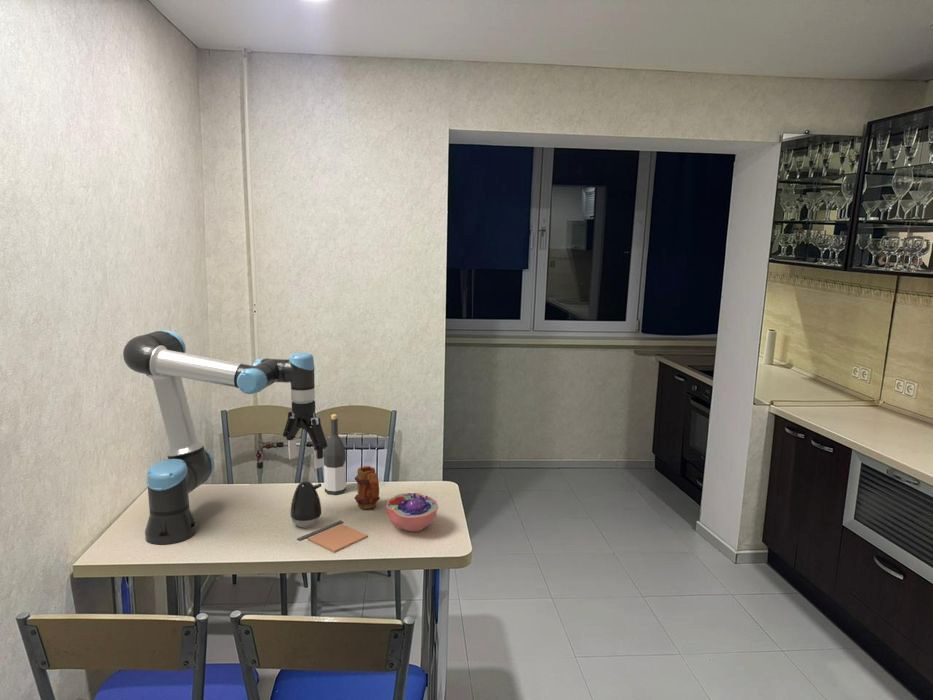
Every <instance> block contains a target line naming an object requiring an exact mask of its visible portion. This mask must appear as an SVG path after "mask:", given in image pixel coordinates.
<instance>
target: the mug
mask: <svg viewBox="0 0 933 700" xmlns="http://www.w3.org/2000/svg"><path fill="white" fill-rule="evenodd" d="M354 480H355V482H356V483H357V494H356V495H355V496H353V497H354V498H353V499H354V500H355V503H357V505H358V508H359V509H361V510H362V509H363V510H369V509H374V508H375V507H377V502H378V501H379V500H380V485H379V481H380V480H379V478H378V474H377V472H376V469H375V468H374V467H371V466H370V465H369V466H368V465H366V466H365V465H364V466H360V467H358V468H357V474H356V476H355V477H354Z"/></svg>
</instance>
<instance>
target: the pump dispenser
mask: <svg viewBox="0 0 933 700" xmlns="http://www.w3.org/2000/svg"><path fill="white" fill-rule="evenodd" d="M321 487H322V483H318V484H315V485H314V484H313V483H312V482H311V481H308V480H303V481H301V482H300V483H299V484H297V486H296V487H295V490H294V492H293V494H292V495H293V496H292V500H291V504H290V505H291V506H290V511H289V512H290V513H289V515H290V518H291V520H292V522H293V524H294V525H295V526H297V527H300V528H311V527H313V526H315V525H316V524H317V523H319V520H320V518H321V515H322V512H323V511H322V505H321V504H322V503H321V500H320V496H319V494H318V491H317V490H318V488H321Z"/></svg>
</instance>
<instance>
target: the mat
mask: <svg viewBox="0 0 933 700" xmlns="http://www.w3.org/2000/svg"><path fill="white" fill-rule="evenodd" d="M368 537H369V535H368V534H366V533H364V532H361V531H359V530H357V529H355V528H352V527H350V526H347V525H345V524H344V523H341V524H339V525H336V526H334V527H332V528H329V529H327V530H325V531H322V532H320V533H318V534H315V535H313V536H311V537H308V538H306V539H307V541H308V542H311V543H313V544H315V545H317V546H319V547H321V548H323V549H325V550H327V551H330V552H331V553H333V554H335V553H337V552H339V551H342V550H343V549H345V548H348V547H350V546H351V545H354V544H356V543H359V542H361V541H362V540H364V539H367V538H368Z"/></svg>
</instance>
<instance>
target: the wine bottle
mask: <svg viewBox="0 0 933 700" xmlns="http://www.w3.org/2000/svg"><path fill="white" fill-rule="evenodd" d="M330 417H331V418H330V436H329V438H328V440H327V441H326V442H327V445H328V446H327V447H326V448H324V449H323V472H324V475H323V476H324V478H323V479H324V482H323V483H324V492H325V493H326V494H327V495H331V496H338V495H342V494H345V492H346V491H347V456H346V455H347V451H346V448H345V445H344V443H343V441H342V438H341V437H340V436H339V432H338V431H339V427H338V425H339V424H338V423H339V422H338V420H339V418H338V415H337V414H336V413H333V414H331V415H330Z"/></svg>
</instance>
